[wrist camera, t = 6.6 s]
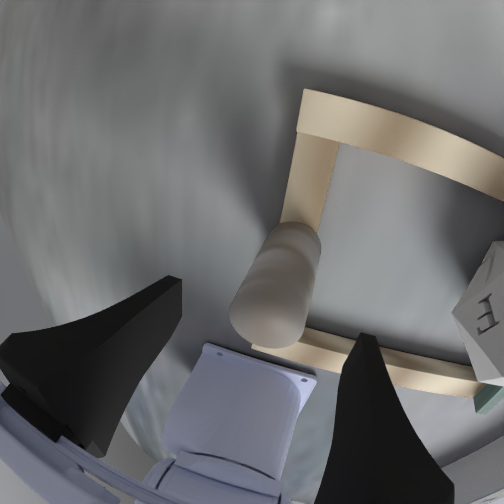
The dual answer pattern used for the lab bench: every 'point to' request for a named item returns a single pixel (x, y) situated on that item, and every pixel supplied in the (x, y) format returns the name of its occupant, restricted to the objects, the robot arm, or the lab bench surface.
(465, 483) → the long grey block
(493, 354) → the die
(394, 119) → the tan frame
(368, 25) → the lab bench surface
